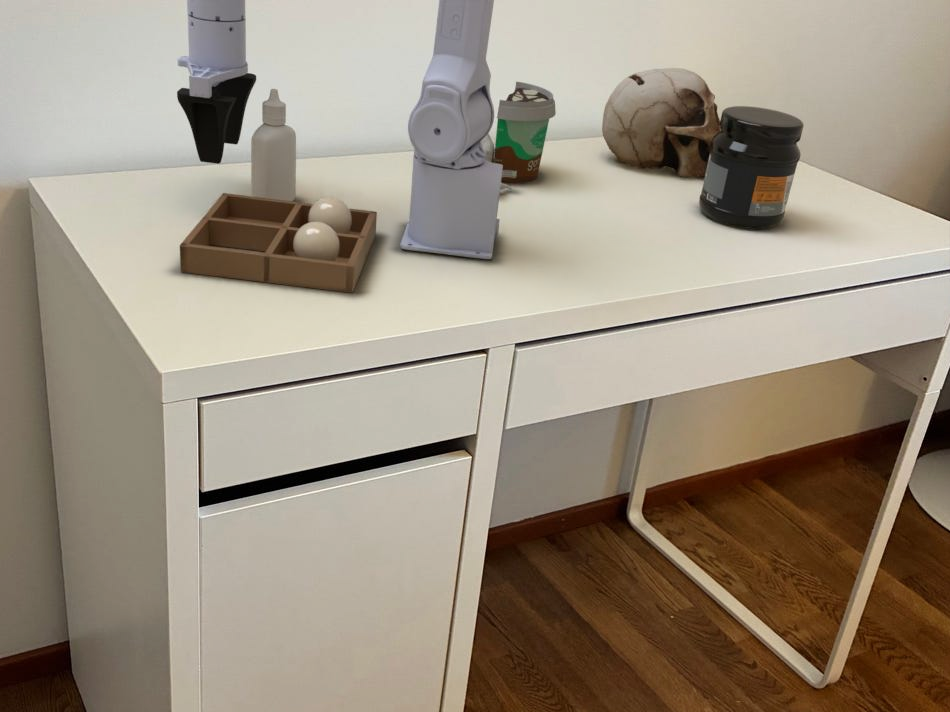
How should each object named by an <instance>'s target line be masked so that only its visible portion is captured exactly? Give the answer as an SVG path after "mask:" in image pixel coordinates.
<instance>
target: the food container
mask: <svg viewBox="0 0 950 712" xmlns="http://www.w3.org/2000/svg"><path fill="white" fill-rule="evenodd" d="M556 112H557V111H556V101H555V99H554V94H553V93H552V91H550V90H548V89H546V88H544V87H541V86H539V85H536V84H532V83H527V82H522V81H515V88H514V91H513V92H512V93H510V94H508V96H507V97H506V99H505V100H504V99H499V102H498V109H497V116H496V119H497V124H496V132H495V133H496V134H495V143H494V147H495V153H494V163H497V164H501V165H503V169H502V178H501V183H503V184H509V185H516V184H517V185H518V184H527V183H532V182H534V181H536V180H537V179H538V177H539V176H538V175H539V171H540V167H541V166H540V165H541V162H542V157H543V152H544V147H545V143H546V137H547V133H548V127H549V124H550V123H549V122H550V119H552V118H554V117H555V116H556V114H557V113H556Z"/></svg>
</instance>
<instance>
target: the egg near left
mask: <svg viewBox="0 0 950 712" xmlns="http://www.w3.org/2000/svg"><path fill="white" fill-rule="evenodd" d="M312 204H313V205H312V207H311V209H310V211H309V215H308V223H309V222H322V223H325V224H327V225H329V226H330V227H331V228H332V229H333V230H334V231H335V232H336V233H343V234H348V232H349V231H350V229H351V225H352V215H351V212H350V210H349V208H350V207H348V205H347V204H346V203H345V202H344V201H343V200H341V199H339V198H338V197H333V196H325V197H321V198H319V199H317V200H316V201H315V202H314V203H312Z"/></svg>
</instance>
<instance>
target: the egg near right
mask: <svg viewBox="0 0 950 712" xmlns="http://www.w3.org/2000/svg"><path fill="white" fill-rule="evenodd" d="M293 249H294V252H295V255H296V257H301V258H309V259H318V260H326V261H335V260H336V258H337V257H338V254H339V250H340V242H339V238H338V236H337V234H336V232H335V231H334V230H333V229H332V228H331V227H330V226H329V225H327V224H325V223H322V222H309V223H307V224H305V225H303V226H302V227H300V228H299V230H298V231H297V232H296V234H295V237H294V240H293Z"/></svg>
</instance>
